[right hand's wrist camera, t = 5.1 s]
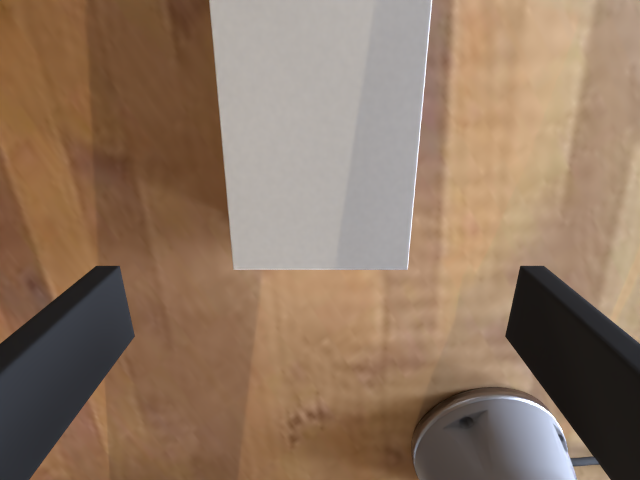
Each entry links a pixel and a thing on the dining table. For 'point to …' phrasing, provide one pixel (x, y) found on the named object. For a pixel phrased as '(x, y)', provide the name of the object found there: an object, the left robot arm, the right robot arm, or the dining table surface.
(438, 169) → the dining table surface
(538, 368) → the right robot arm
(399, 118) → the cabinet
